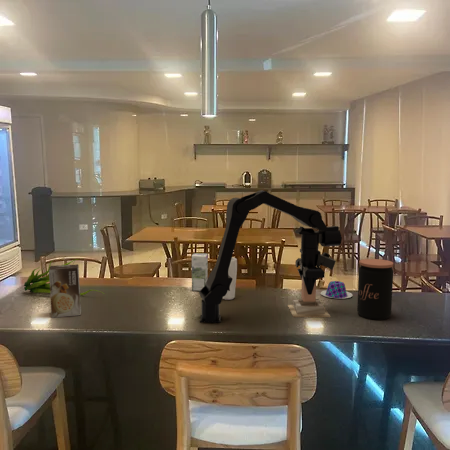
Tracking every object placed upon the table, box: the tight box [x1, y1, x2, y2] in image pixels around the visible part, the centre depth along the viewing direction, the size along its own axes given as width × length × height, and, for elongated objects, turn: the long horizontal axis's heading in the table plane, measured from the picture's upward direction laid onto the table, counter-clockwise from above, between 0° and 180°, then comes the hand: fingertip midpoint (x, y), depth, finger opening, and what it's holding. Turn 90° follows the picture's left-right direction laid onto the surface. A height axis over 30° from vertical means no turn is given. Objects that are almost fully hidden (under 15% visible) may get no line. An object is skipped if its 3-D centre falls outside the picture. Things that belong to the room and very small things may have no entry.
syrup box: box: [191, 252, 209, 292], centre depth 174 cm, size 6×6×14 cm
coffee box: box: [48, 264, 82, 319], centre depth 144 cm, size 9×6×16 cm
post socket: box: [287, 298, 331, 318], centre depth 148 cm, size 12×12×3 cm
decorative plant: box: [23, 258, 105, 297], centre depth 165 cm, size 18×30×15 cm, turn 48°
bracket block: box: [300, 277, 317, 302], centre depth 147 cm, size 4×4×8 cm
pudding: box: [320, 280, 354, 299], centre depth 168 cm, size 12×12×5 cm
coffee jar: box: [356, 258, 394, 321], centre depth 143 cm, size 11×11×18 cm
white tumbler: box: [222, 257, 238, 301], centre depth 162 cm, size 7×7×15 cm
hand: (308, 292), depth 147 cm, fingers closed on bracket block, 4 cm apart
